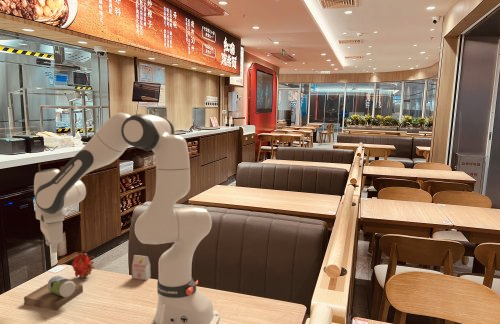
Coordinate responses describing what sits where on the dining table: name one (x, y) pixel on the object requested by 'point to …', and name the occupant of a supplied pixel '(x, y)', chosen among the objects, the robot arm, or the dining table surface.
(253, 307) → the dining table surface
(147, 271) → the tea bag
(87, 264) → the dragon fruit
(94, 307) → the dining table surface
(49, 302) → the walnut base
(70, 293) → the beverage can
